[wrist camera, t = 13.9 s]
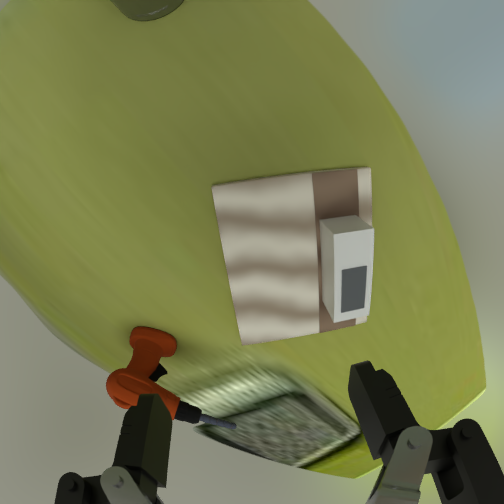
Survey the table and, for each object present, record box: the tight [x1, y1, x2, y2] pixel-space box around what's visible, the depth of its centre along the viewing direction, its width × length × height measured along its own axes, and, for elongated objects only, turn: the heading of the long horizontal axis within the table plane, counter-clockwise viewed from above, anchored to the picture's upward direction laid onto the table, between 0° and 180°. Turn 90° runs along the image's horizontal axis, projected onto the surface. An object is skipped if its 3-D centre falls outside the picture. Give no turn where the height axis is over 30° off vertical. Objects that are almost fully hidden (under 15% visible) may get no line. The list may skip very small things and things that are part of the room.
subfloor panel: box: [212, 167, 372, 345], centre depth 38 cm, size 24×20×1 cm
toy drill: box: [106, 327, 237, 429], centre depth 37 cm, size 5×19×15 cm, turn 70°
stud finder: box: [319, 215, 374, 323], centre depth 35 cm, size 12×5×6 cm, turn 8°
